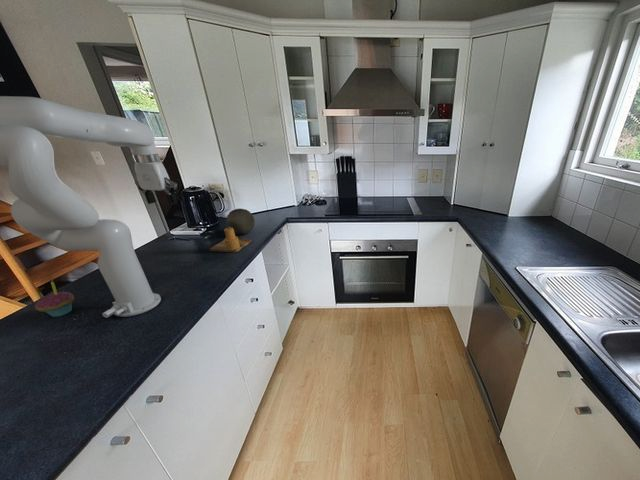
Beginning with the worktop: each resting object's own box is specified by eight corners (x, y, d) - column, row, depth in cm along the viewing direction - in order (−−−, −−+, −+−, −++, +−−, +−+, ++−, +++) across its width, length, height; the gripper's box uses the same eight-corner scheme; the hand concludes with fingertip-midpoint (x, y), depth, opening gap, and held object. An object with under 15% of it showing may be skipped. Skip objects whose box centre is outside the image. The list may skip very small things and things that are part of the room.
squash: (235, 250, 134) (229, 229, 129) (224, 249, 135) (218, 228, 130) (242, 245, 140) (237, 225, 135) (231, 244, 140) (226, 224, 135)
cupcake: (78, 302, 97) (60, 273, 92) (81, 311, 92) (63, 281, 87) (41, 313, 91) (21, 283, 86) (43, 324, 86) (21, 293, 81)
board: (235, 252, 135) (235, 250, 134) (209, 250, 136) (209, 248, 136) (251, 241, 147) (251, 239, 147) (227, 240, 149) (227, 237, 148)
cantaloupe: (227, 234, 157) (220, 208, 150) (252, 228, 165) (247, 204, 159) (234, 241, 147) (227, 214, 141) (261, 235, 156) (255, 209, 149)
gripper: (117, 159, 101) (135, 205, 108) (159, 161, 99) (174, 207, 106) (136, 157, 107) (152, 200, 115) (176, 158, 105) (189, 202, 113)
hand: (163, 203), depth 111 cm, fingers open, 9 cm apart
